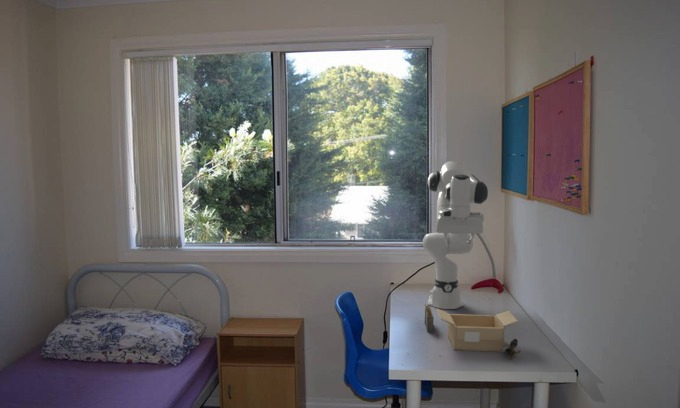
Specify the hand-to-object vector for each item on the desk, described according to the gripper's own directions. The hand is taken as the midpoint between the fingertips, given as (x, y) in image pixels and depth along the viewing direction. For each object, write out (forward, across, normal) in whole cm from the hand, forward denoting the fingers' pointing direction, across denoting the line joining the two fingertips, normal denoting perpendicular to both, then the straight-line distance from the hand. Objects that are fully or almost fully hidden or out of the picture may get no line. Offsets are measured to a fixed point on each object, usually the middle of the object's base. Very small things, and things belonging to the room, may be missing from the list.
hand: (458, 243), depth 210 cm
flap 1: (+31, +4, +11) cm, 33 cm away
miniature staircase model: (+42, +11, -7) cm, 44 cm away
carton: (+41, -6, +11) cm, 43 cm away
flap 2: (+31, -16, +11) cm, 36 cm away
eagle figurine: (+41, -18, +22) cm, 50 cm away
